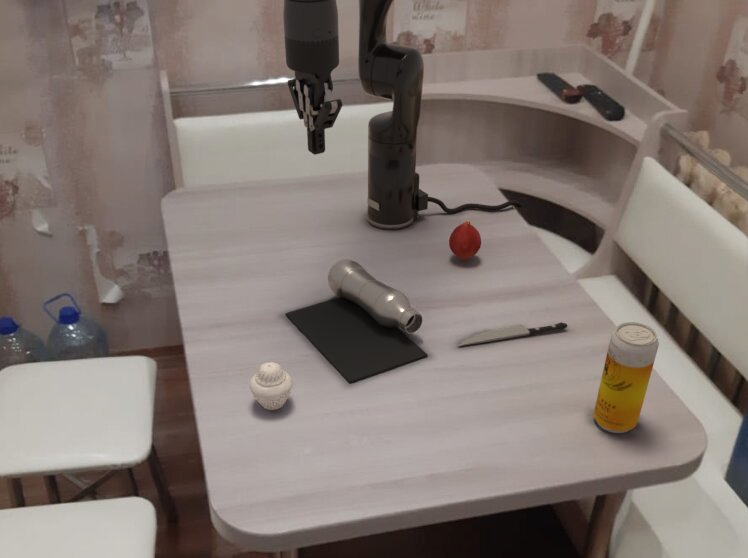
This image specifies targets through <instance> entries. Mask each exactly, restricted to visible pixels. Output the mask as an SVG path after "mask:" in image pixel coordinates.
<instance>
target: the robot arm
mask: <svg viewBox="0 0 748 558" xmlns="http://www.w3.org/2000/svg"><path fill="white" fill-rule="evenodd" d="M394 1H395V0H358V12H359V13H358V17H359V19H358V58H357V60H358V65H357V66H358V79H359V84H360V88H361V89H362V91H363V92H364V93H365V94H366V95H369V96H371V97H375V98H380V99H384V100H388V101H393V104H392V110H390V111H386V112H382V113H381V112H380V113H378V114H376V115H373V116H372V117H371V118H370V119H369V120H368V123H367V212H366V213H367V214H366V220H367V222H368V223H369V224H370V225H372V226H373V227H376V228H379V229H382V230H383V229H384V230H398V229H404V228H406V227H409V226H410V225H412V224H413V223H414V221H418V220H419V219H418V217H419V212H421V211H426V210H428V208H429V207H428V206H429V202H430V203H433V204H436V205H438V206H439V207H440V209H441V210H442V211H443V212H444V213H447V214H457V213H459V212H462V211H464V210H468V209H474V210H475V209H476V210H482V211H495V212H496V211H502V210H503V209H506V208H508V207H511V206H516V207H517V208H520V209H521V208H524V205H523V204H522V203H521V202H520V201H518V200H516V199H512V200H507V201H506V202H504V203H501V204H498V205H489V204H482V203H472V202H471V203H465V204H462V205H459V206H456V207H454V208H448V207H447V205H446V204H445V203H444V202H443V200H441V199H438V198H436V197H432V196H429V194H428V193H427V192H425V191H424V190H422V189H420V174H419V173H418V172H417V171H416V167H417V165H416V164H417V141H418V127H419V122H420V117H421V109H422V108H421V107H422V96H423V86H424V74H425V65H424V58H423V55H422V53H421V52H420V50H419V49H417V48H415V47H411V46H405V45H399V44H394V43H388V40H387V22H388V16H389V13H390V10H391V7H392V5H393V3H394ZM282 9H283V13H282V15H283V17H282V18H283V31H284V32H283V33H284V34H283V35H284V48H285V64H286V66H287V68H288V69H289V70H291V71H293V72H294V78H292V79H288V80H287V86H288V90H289V93H290V95H291V98H292V102H293V104H294V108H295V110H296V114H297V117H298V119H299V120H301V121H302V120H303V125H304V127H305V128H306V135H307V136H306V137H307V139H306V140H307V150H308V152H309V153H312V155H314V156H315V155H319V154H324V153H325V152H326V135H325V134H326V132H325V130H326V129H330V128H333V127H334V126H335V125H334V124H335V122H336V121H337V118H338V116H339V114H340V112H341V110H342V107H343V101H342V100H341V98H337V99H335V96H334V94H333V89H334V84H333V80H332V72H333V71H334V70H335V69H336V68H337V67H338V66H339V65H340V42H339V41H340V40H339V39H340V37H339V10H338V3H337V0H283V8H282Z"/></svg>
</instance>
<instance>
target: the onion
mask: <svg viewBox="0 0 748 558" xmlns="http://www.w3.org/2000/svg"><path fill="white" fill-rule="evenodd" d="M481 237H482V236H481V234H480V232H479V230H478V229H477V228H476V227H475V226H474V225H472V224H471V220H469V219H468V220H465V221H464V222H462V223H460V224H459V225H457V226H456V227H455V228H454V229H453V230H452V232H451V233H450V236H449V239H448V246H449V250H450V251H451V253H452V254H454V256H456V257H457V258H459V259H460V260H461V261H468V260H469V259H470V258H472V257H475V256H476V255H477V254H478V252H479V250H480V249H481V246H482V238H481Z"/></svg>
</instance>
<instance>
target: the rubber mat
mask: <svg viewBox="0 0 748 558" xmlns="http://www.w3.org/2000/svg"><path fill="white" fill-rule="evenodd" d="M284 314H285V317H286V318H288V320H289V321H290V322H291V323H292V324H293V325H294V327H296V328H297V329H298V330H299V331H300V332H301V333H302V335H304V337H305V338H306V339H307V341H309V342H310V343H311V344H312V346H314V347H315V348H316V349H317V351H318V352H319V353H320V354H321V355H322V356H323V357H324V358H325V359H326V361H328V362H329V363H330V364H331V366H332V367H333V368H334V369H335V370H336V371H337V372H338V373H339V374H340V375H341V376H342V377H343V378H344V379H345V380H346V382H347V383H348V384H353V383H357V382H359V381H362V380H364V379H368V378H371V377H373V376H377V375H379V374H381V373H384V372H388V371H390V370H393V369H397V368H399V367H402V366H404V365H407V364H411V363H413V362H417V361H419V360H421V359H424V358H427V357H428V353H427V352H426V351H425V350H423V349H422V348H421V347H420V346H419V345H418V344H417V343H415V342H414V341H413V339H411V338H410V337H409V336H408V335H407V334H406V333H405V332H403V330H401V329H400V328H399V327H396V328H388V327H384V326H381V325H380V324H379V323H378V322H377V321H376V320H375V319H374V318H373V317H372V316H371V315H370V314H369V313H368V312H366V311H365V310H364V309H363V308H361V307H360V306H359V305H357V304H356V303H354V302H352V301H350V300H348V299H345V298H343V297H340V296H338V297H335V298H331V299H327V300H325V301H322V302H319V303H314V304H312V305H308V306H305V307H301V308H298V309H295V310H292V311H287V312H285V313H284Z"/></svg>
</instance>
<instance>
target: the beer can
mask: <svg viewBox="0 0 748 558" xmlns="http://www.w3.org/2000/svg"><path fill="white" fill-rule="evenodd" d="M659 345H660V342H659V339H658V334H657V331H656V330H655V329H654V328H653V327H651V326H649V325H648V324H644V323H641V322H635V321H627V322H623V323H620V324H619V325H617V326H616V327H615V330H613V332H612V333H611V335H610V338H609V343H608V347H607V353H606V357H605V361H604V364H603V366H604V367H603V371H602V375H601V378H600V382H599V387H598V392H597V396H596V401H595V405H594V410H593V418H594V420H595V422H596V423H597V425H598V426H599V427H600V428H601V429H603V430H604V431H606V432H609V433H613V434H623V433H627V432H629V431H631V430H632V429H634V428H636V426H637V425H638V422H639V419H640V415H641V412H642V408H643V405H644V402H645V401H644V400H645V397H646V393H647V390H648V386H649V382H650V379H651V375H652V371H653V367H654V364H655V360H656V357H657V353H658V349H659Z"/></svg>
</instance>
